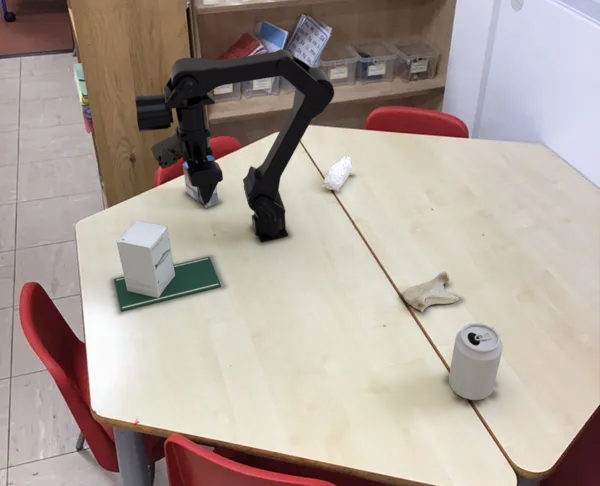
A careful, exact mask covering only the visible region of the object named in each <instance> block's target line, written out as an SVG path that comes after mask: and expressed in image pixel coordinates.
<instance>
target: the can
mask: <svg viewBox="0 0 600 486" xmlns="http://www.w3.org/2000/svg"><path fill="white" fill-rule="evenodd" d="M503 349H504V345H503V341H502V339H501V336H500V333H499V332H498V331H497V329H495V328H494V327H492V326H491V325H488V324H485V323H483V322H472V323H468V324H466V325H464V326H463V327H462V328H461V329H460V330H459V331H458V332H457V333H456V336H455V339H454V344H453V350H452V356H451V362H450V367H449V368H450V369H449V375H448V383H449V386H450V388H451V390H452V391H453V392H454V393H455V394H456V395H458V396H459V397H462V398H463V399H466V400H470V401H479V400H484V399H486V398H488V397H489V396H491V394H492V393H493V392H494V390H495V389H494V388H495V384H496V380H497V375H498V371H499V367H500V363H501V358H502V354H503Z"/></svg>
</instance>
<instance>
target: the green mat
mask: <svg viewBox="0 0 600 486" xmlns="http://www.w3.org/2000/svg"><path fill="white" fill-rule="evenodd" d="M173 265H174V272H175V276H174V278H173V279H172V280H171V281H170V283H169V284H168V285H167V286H166V288H165V289H164V291H163V292H162V293H161V295H160V296H159V298H156V297H152V296H147V295H143V294H139V293H134V292H130V291H127V287H126V282H125V278H124V276H121V277H116V278H113V281H114V285H115V290H116V295H117V299H118V304H119V308H120V312H121V313H122V312H125V311H130V310H134V309H138V308H142V307H146V306H150V305H155V304H158V303H162V302H165V301H170V300H174V299H178V298H182V297H187V296H190V295H195V294H199V293H202V292H206V291H207V292H208V291H210V290H214V289H215V290H216V289H218V288H222V284H221V282H220V280H219V276H218V275H217V272H216V269H215V267H214V265H213V262H212V260H211V258H210V256H205V257H201V258H197V259H193V260H188V261H185V262H181V263H176V264H173Z"/></svg>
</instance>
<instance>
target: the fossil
mask: <svg viewBox="0 0 600 486" xmlns="http://www.w3.org/2000/svg"><path fill="white" fill-rule="evenodd" d="M449 282H450V275H449V273H448V272H447V271H442V272H440V273H439V274H438V275H436V277H434V278H433V279H431V280H428V281H426V282H423V283H420V284H417V285H414V286H411V287H409V288H407V289H406V290H405V291H404V292H403V294H402V298H403V299H404V301H405V302H406V303H407V305H410V306H412V308H414V309H416V310H417V311H420V312H424V310H425V309H426V308H428V307H429V306H432V305H449V304H453V303H456V302H458V301H459V297H457V296H456V295H455V294H452V293H451V292H449V291H447V290H446V289H445V286H444V285H447V284H448V283H449Z"/></svg>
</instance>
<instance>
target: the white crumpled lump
mask: <svg viewBox="0 0 600 486" xmlns="http://www.w3.org/2000/svg"><path fill="white" fill-rule="evenodd" d="M352 170H353V165H352V159H351V156H350V155H344V156H343V157H341V159H339V161H338V162H337V163H335V164H333V165H331V166H330V167H329V168H328V170H327V172H326V174H325V177H324V179H323V184H321V187H322V188H326V189H327V190H331V191H334V192H340V189H341V187H342V186H343V185H344V183H345V182H346V180H347V179H348V178H349V177H350V176H353V172H352Z"/></svg>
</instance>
